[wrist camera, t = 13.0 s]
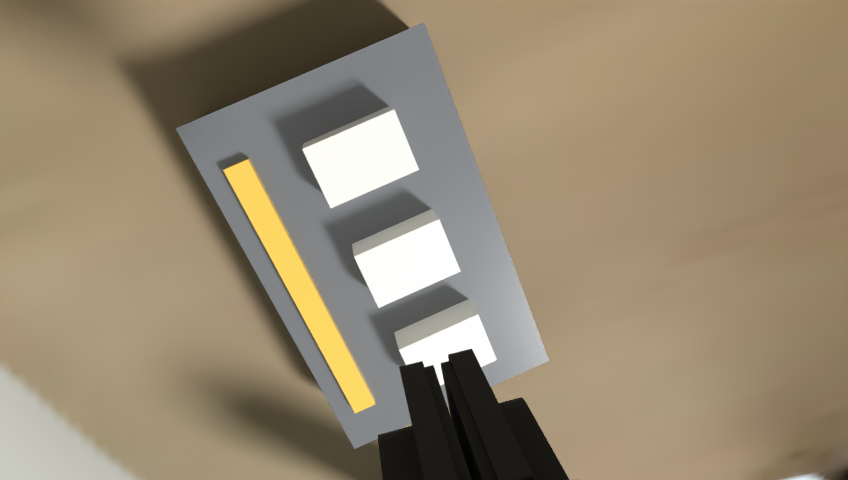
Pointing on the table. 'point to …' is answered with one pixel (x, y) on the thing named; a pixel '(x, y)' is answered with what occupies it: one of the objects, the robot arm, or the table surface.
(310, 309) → the switch panel
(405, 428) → the robot arm
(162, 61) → the table surface
